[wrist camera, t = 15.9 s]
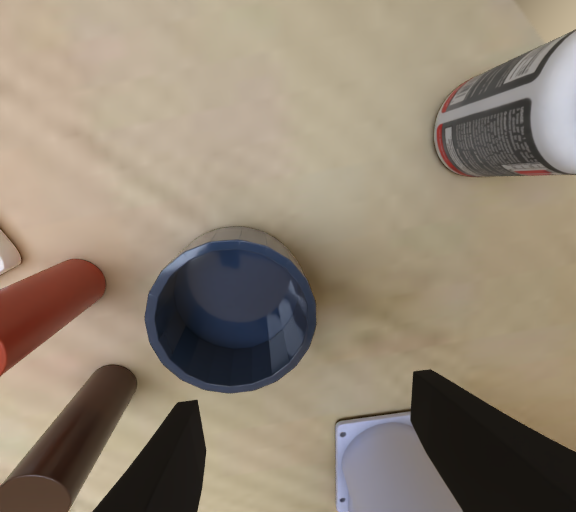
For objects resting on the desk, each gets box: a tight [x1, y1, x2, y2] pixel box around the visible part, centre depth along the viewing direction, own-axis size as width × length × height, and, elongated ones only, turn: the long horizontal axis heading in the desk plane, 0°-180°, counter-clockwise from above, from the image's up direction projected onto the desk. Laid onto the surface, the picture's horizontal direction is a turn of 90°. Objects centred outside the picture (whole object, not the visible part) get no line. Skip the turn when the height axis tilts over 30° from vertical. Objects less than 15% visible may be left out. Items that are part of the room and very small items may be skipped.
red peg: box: [0, 259, 106, 376], centre depth 14 cm, size 3×3×8 cm
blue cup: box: [145, 227, 316, 393], centre depth 17 cm, size 9×9×4 cm
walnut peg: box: [0, 365, 137, 512], centre depth 16 cm, size 3×3×8 cm
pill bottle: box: [434, 30, 576, 177], centre depth 13 cm, size 6×6×10 cm
